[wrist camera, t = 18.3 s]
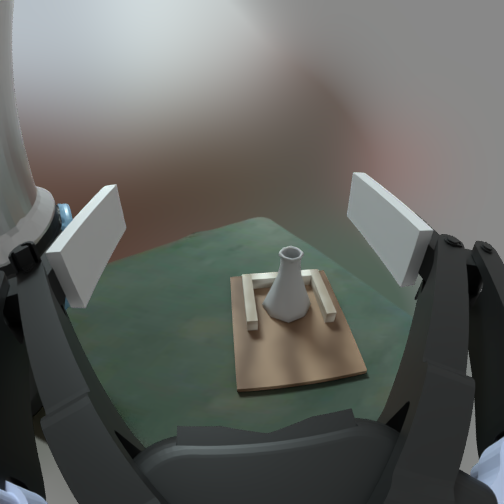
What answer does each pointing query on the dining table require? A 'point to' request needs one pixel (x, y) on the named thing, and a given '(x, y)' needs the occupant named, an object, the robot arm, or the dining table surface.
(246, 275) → the nook board
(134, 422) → the dining table surface
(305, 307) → the flask
